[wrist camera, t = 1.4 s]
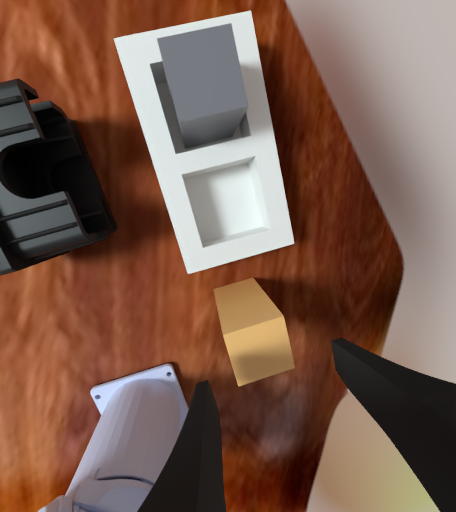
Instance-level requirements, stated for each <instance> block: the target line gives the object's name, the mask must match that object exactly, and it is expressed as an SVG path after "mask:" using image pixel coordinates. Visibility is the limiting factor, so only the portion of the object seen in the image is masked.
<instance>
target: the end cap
mask: <svg viewBox="0 0 456 512" xmlns="http://www.w3.org/2000/svg"><path fill="white" fill-rule="evenodd" d="M37 98H39V97H38V94H37V92H36V90H35V89H33V88H32V87H30V86H29V85H28V84H26V83H25V82H23V81H22V80H20V79H14V80H10V81H5V82H1V83H0V275H4V274H8V273H12V272H15V271H18V270H21V269H24V268H27V267H29V266H32V265H35V264H38V263H40V262H43V261H46V260H49V259H51V258H54V257H57V256H60V255H63V254H65V253H68V252H70V250H73V249H76V248H80V247H83V246H87V245H90V244H93V243H94V242H97V241H100V240H104V239H107V237H108V235H109V234H112V233H113V232H115V231H116V229H117V227H116V223H115V220H114V218H113V215H112V213H111V210H110V208H109V205H108V203H107V200H106V198H105V195H104V193H103V190H102V188H101V185H100V183H99V180H98V178H97V175H96V173H95V170H94V168H93V165H92V163H91V160H90V158H89V155H88V153H87V150H86V148H85V145H84V143H83V140H82V138H81V135H80V133H79V130H78V127H77V125H76V124H75V122H74V121H72V120H71V119H69V118H67V116H66V114H65V113H64V112H63V110H62V109H61V108H60V107H58V106H57V105H55V104H54V103H53V102H51V101H50V100H49V101H45V102H41V103H36V104H32V105H30V103H29V100H33V99H37Z"/></svg>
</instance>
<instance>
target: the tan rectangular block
mask: <svg viewBox="0 0 456 512" xmlns="http://www.w3.org/2000/svg"><path fill="white" fill-rule="evenodd" d="M213 290H214V294H215V299H216V304H217V309H218V313H219V318H220V323H221V328H222V332H223V337H224V340H225V343H226V347H227V350H228V353H229V357H230V360H231V364H232V367H233V370H234V374H235V377H236V380H237V384H238V387H239V386H242V385H245V384H248V383H251V382H254V381H257V380H260V379H263V378H266V377H269V376H272V375H275V374H278V373H281V372H284V371H287V370H290V369H293V368H295V366H294V361H293V356H292V352H291V347H290V342H289V338H288V333H287V329H286V324H285V319H284V316H283V314H282V313H281V312H280V311H279V309H278V308H277V307H276V306H275V304H274V303H273V302H272V301H271V299H270V298H269V297H268V296H267V294H266V293H265V292H264V291H263V289H262V288H261V287H260V286H259V284H258V283H257V282H256V281H255V279H254V278H250V279H247V280H243V281H240V282H237V283H233V284H230V285H226V286H223V287H220V288H216V289H213Z"/></svg>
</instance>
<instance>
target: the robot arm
mask: <svg viewBox="0 0 456 512" xmlns="http://www.w3.org/2000/svg"><path fill="white" fill-rule="evenodd" d="M331 343H332V349H333V355H334V361H335V368H336V371H337V373H338V374H339V376H340V377H341V379H342V380H343V382H344V383H345V385H346V386H347V388H348V389H349V390H350V391H351V393H352V394H353V395H354V396H355V397H356V399H357V400H358V401H359V402H360V403H361V404H362V406H364V408H365V409H366V410H367V412H368V413H369V414H370V415H371V416H372V417H373V419H374V420H375V421H376V422H377V423H378V424H379V425H380V427H381V428H382V429H383V431H384V432H385V433H386V434H387V436H388V437H389V438H390V439H391V441H392V442H393V444H394V445H395V447H396V448H397V449H398V451H399V452H400V454H401V455H402V456H403V458H404V459H405V461H406V462H407V463H408V465H409V466H410V468H411V469H412V471H413V472H414V473H415V475H416V476H417V478H418V479H419V481H420V482H421V484H422V485H423V487H424V488H425V489H426V491H427V492H428V494H429V496H430V497H431V498H432V500H433V501H434V503H435V504H436V506H437V507H438V509H439V510H440V512H456V384H454V383H451V382H447V381H444V380H441V379H437V378H434V377H431V376H428V375H425V374H422V373H419V372H417V371H414V370H411V369H408V368H406V367H403V366H401V365H398V364H396V363H394V362H391V361H389V360H387V359H384V358H382V357H380V356H378V355H376V354H374V353H371V352H369V351H367V350H365V349H363V348H361V347H359V346H357V345H355V344H353V343H351V342H349V341H347V340H345V339H343V338H339V339H335V340H332V341H331ZM168 372H171V374H168ZM90 393H91V396H92V398H93V400H94V402H95V404H96V406H97V408H98V410H99V412H100V414H101V418H100V420H99V422H98V424H97V427H96V429H95V431H94V433H93V435H92V438H91V440H90V442H89V444H88V447H87V449H86V451H85V453H84V455H83V458H82V460H81V462H80V464H79V466H78V469H77V471H76V473H75V475H74V478H73V480H72V482H71V484H70V486H69V489H68V491H67V493H66V495H65V496H64V495H62V496H59V497H57V498H56V499H54V500H53V501H52V502H51V503H49V504H48V505H46V506H44V507H43V508H41V509H40V510H39V511H38V512H226V505H225V497H224V485H223V465H222V443H221V428H220V420H219V414H218V408H217V405H216V402H215V399H214V396H213V393H212V390H211V387H210V384H209V381H208V380H206V381H203V382H200V383H197V385H196V387H195V391H194V394H193V398H192V401H191V404H190V407H189V408H188V406H187V403H186V400H185V398H184V395H183V392H182V390H181V387H180V384H179V382H178V379H177V376H176V374H175V371H174V368H173V366H172V365H171V364H164V365H161V366H158V367H154V368H151V369H148V370H145V371H142V372H138V373H135V374H132V375H129V376H126V377H123V378H119V379H116V380H113V381H110V382H107V383H103V384H100V385H97V386H94V387H93V388H92V390H91V392H90ZM98 395H100V396H98Z"/></svg>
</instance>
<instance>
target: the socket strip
mask: <svg viewBox="0 0 456 512" xmlns="http://www.w3.org/2000/svg"><path fill="white" fill-rule="evenodd" d="M114 41H115V44H116V48H117V51H118V54H119V57H120V60H121V63H122V67H123V70H124V73H125V76H126V79H127V82H128V86H129V89H130V92H131V95H132V98H133V101H134V105H135V108H136V111H137V114H138V117H139V120H140V124H141V127H142V130H143V133H144V136H145V139H146V143H147V146H148V149H149V152H150V155H151V158H152V162H153V165H154V168H155V171H156V174H157V177H158V181H159V184H160V187H161V190H162V193H163V196H164V200H165V203H166V206H167V209H168V212H169V215H170V219H171V222H172V225H173V228H174V231H175V234H176V238H177V241H178V244H179V247H180V250H181V253H182V257H183V260H184V263H185V266H186V269H187V272H188V274H190V273H194V272H197V271H201V270H204V269H208V268H211V267H215V266H218V265H222V264H225V263H229V262H232V261H236V260H239V259H243V258H246V257H250V256H253V255H257V254H260V253H263V252H267V251H270V250H274V249H277V248H281V247H284V246H288V245H291V244H294V239H293V233H292V228H291V223H290V217H289V212H288V207H287V201H286V196H285V190H284V185H283V180H282V174H281V169H280V164H279V158H278V153H277V148H276V142H275V137H274V132H273V126H272V121H271V116H270V110H269V105H268V100H267V94H266V89H265V84H264V78H263V73H262V67H261V62H260V57H259V51H258V46H257V41H256V35H255V30H254V25H253V19H252V14H251V11H247V12H242V13H237V14H232V15H227V16H222V17H217V18H212V19H207V20H202V21H197V22H192V23H187V24H183V25H178V26H173V27H168V28H163V29H158V30H153V31H148V32H143V33H138V34H133V35H128V36H123V37H119V38H114Z"/></svg>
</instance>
